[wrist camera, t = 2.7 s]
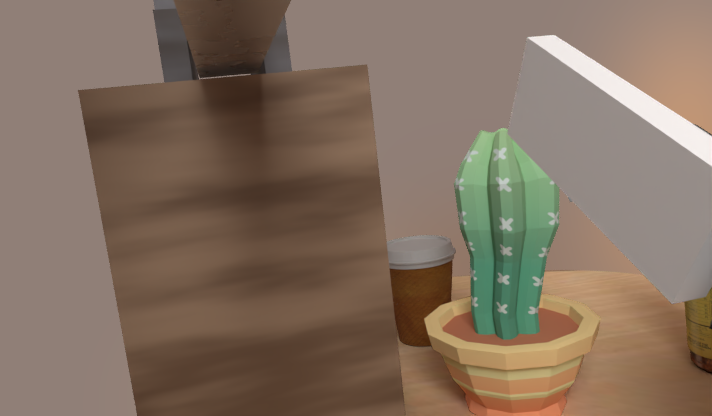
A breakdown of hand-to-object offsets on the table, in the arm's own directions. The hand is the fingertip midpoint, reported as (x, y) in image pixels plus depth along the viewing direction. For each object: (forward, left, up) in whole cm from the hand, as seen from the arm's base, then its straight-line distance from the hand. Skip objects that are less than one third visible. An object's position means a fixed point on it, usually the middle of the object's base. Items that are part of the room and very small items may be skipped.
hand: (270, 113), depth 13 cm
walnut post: (-5, +27, -27) cm, 39 cm away
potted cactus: (+16, +33, -27) cm, 46 cm away
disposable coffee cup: (+11, +51, -27) cm, 59 cm away
